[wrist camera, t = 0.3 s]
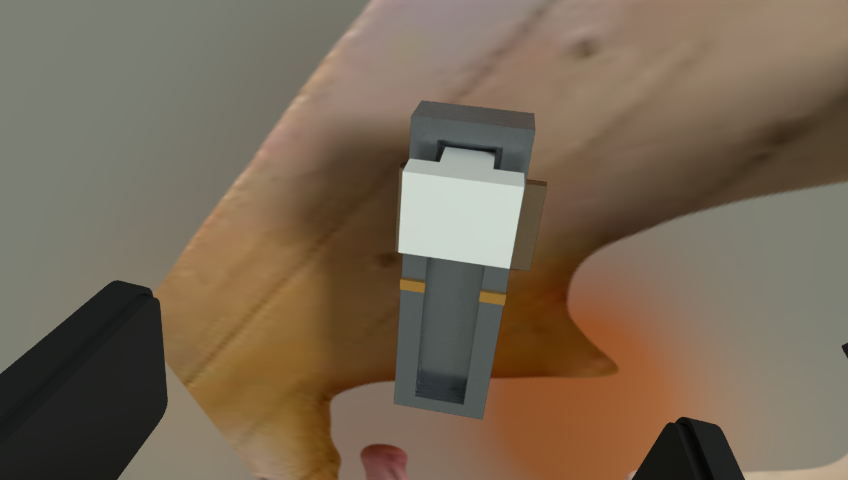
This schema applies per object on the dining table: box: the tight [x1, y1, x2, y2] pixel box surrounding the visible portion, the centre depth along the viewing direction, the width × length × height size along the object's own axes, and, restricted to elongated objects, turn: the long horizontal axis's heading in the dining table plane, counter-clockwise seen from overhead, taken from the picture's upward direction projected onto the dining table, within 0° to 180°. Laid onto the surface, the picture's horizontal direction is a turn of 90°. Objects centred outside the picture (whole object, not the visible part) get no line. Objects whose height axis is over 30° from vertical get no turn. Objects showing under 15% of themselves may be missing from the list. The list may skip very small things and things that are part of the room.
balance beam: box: [394, 101, 547, 419], centre depth 40 cm, size 23×12×12 cm, turn 176°
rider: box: [398, 147, 524, 269], centre depth 30 cm, size 5×6×5 cm
